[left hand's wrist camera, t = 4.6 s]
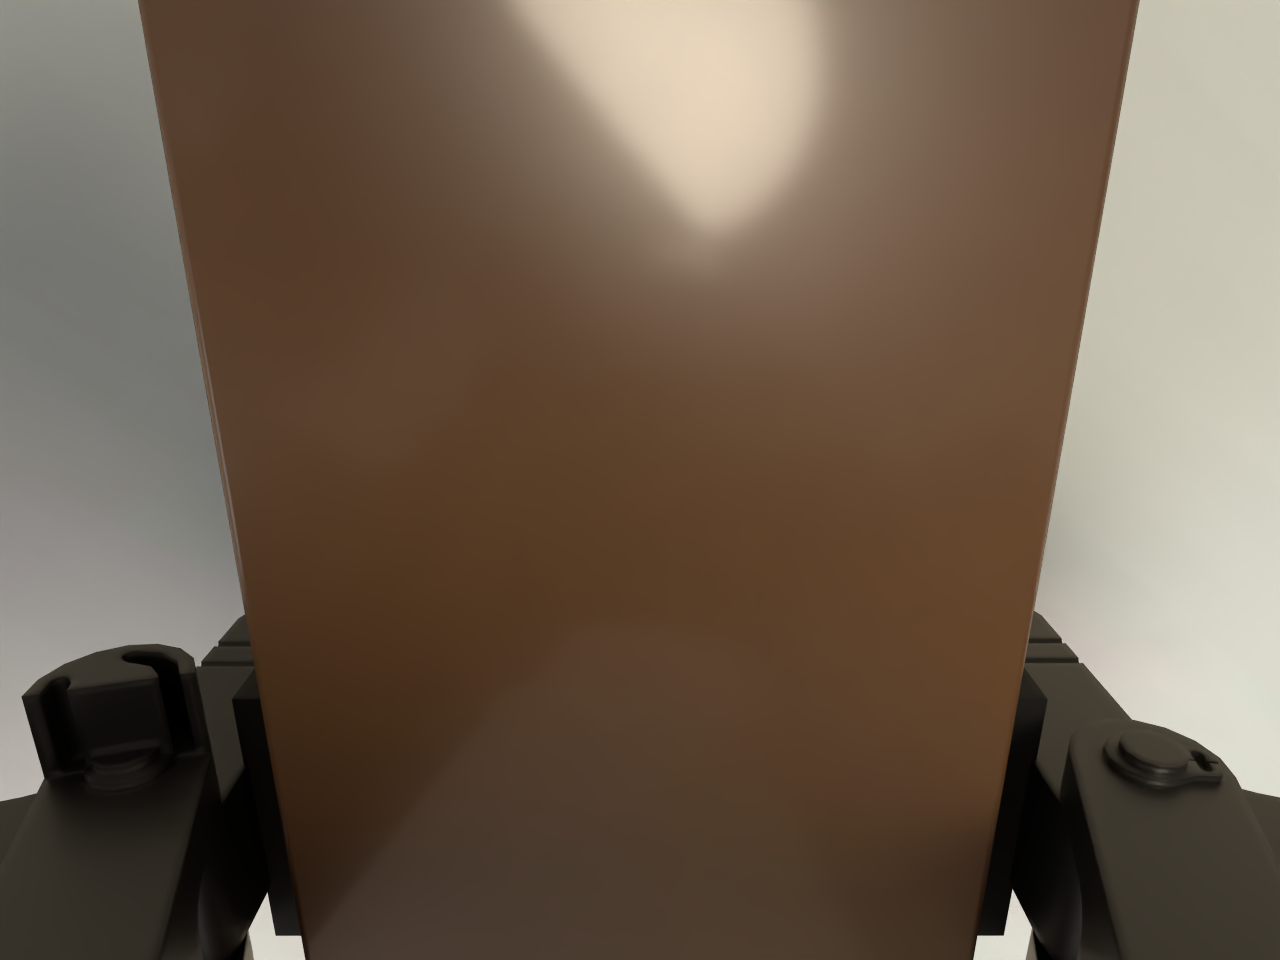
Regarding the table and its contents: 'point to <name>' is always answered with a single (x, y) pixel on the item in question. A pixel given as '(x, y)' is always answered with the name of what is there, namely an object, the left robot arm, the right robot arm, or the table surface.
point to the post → (639, 447)
